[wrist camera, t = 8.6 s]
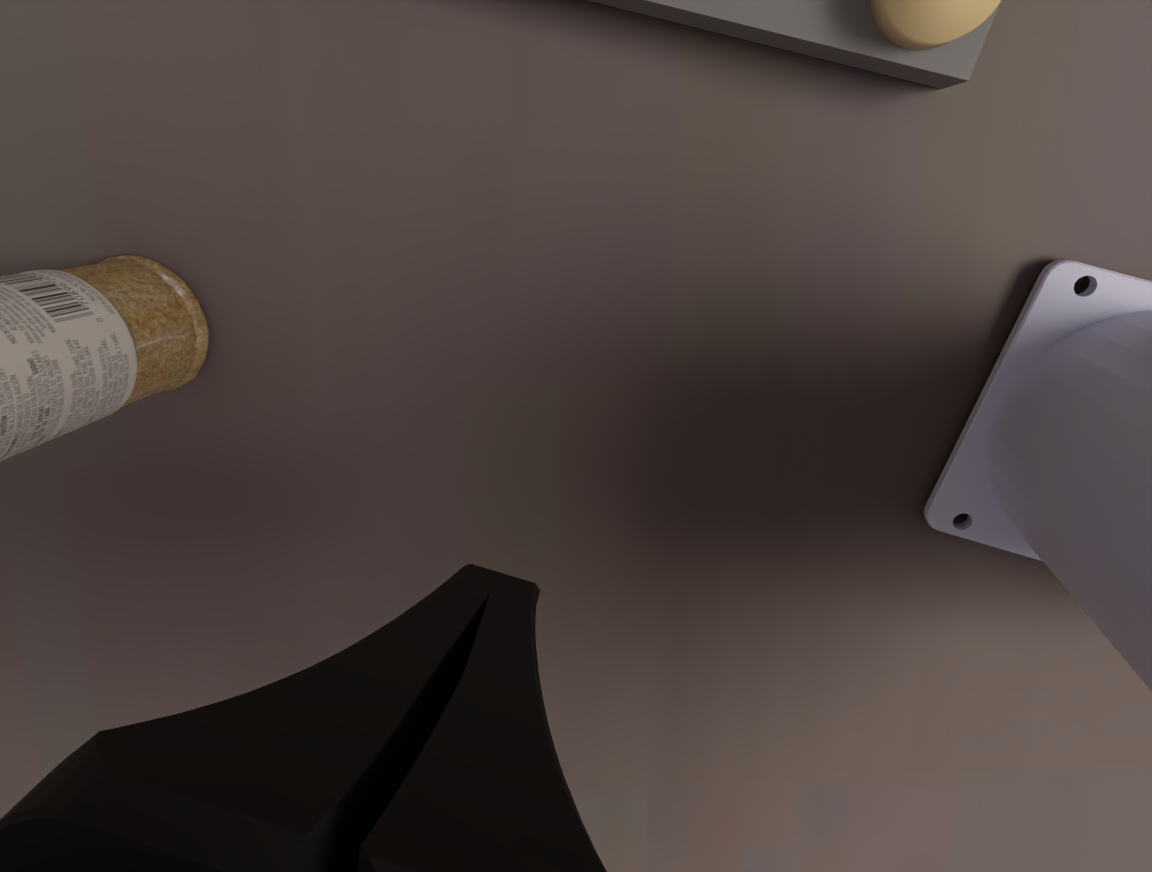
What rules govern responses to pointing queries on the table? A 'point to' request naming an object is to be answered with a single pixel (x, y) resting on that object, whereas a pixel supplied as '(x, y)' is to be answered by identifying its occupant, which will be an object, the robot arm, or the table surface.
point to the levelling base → (848, 31)
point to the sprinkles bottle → (91, 345)
